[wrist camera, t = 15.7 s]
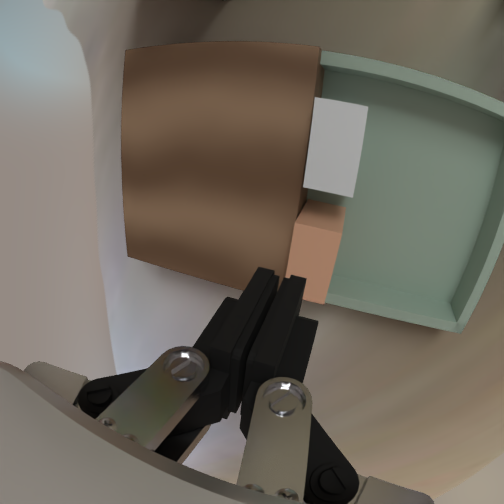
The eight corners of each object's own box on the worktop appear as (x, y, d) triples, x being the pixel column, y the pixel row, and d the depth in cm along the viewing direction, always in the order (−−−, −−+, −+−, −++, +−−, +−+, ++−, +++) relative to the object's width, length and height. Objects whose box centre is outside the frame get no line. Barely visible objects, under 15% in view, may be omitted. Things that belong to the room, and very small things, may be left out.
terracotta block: (294, 222, 16) (342, 233, 15) (308, 198, 20) (345, 207, 19) (282, 294, 18) (323, 304, 17) (297, 259, 22) (331, 267, 21)
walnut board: (160, 54, 19) (125, 50, 15) (326, 59, 16) (319, 46, 13) (156, 236, 26) (127, 256, 22) (294, 270, 23) (281, 300, 20)
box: (326, 59, 16) (321, 50, 13) (513, 115, 13) (534, 118, 10) (294, 270, 23) (285, 292, 20) (453, 309, 20) (460, 333, 17)
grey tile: (314, 96, 13) (368, 106, 12) (324, 100, 17) (365, 108, 16) (302, 187, 15) (352, 198, 14) (314, 170, 19) (353, 178, 18)
